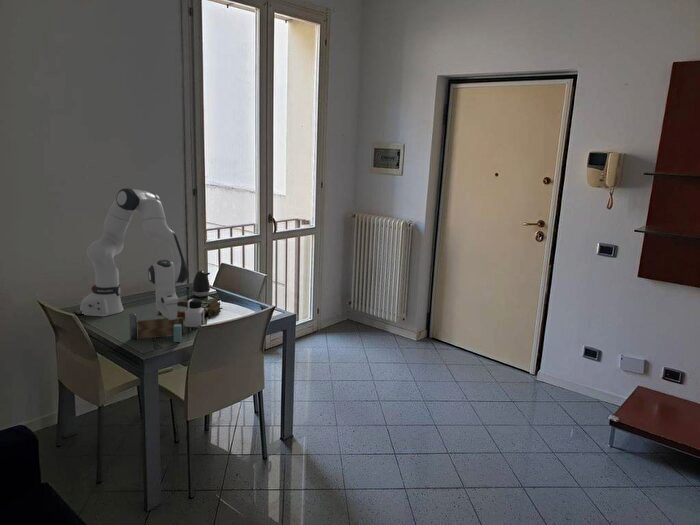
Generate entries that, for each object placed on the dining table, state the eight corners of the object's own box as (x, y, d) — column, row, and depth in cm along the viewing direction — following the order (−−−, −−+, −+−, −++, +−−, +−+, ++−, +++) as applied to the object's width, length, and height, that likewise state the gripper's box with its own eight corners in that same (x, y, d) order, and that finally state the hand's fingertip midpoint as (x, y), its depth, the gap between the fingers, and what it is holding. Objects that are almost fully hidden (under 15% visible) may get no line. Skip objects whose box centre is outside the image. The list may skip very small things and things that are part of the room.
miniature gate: (180, 296, 295) (229, 298, 289) (181, 305, 296) (230, 307, 290) (153, 310, 269) (207, 312, 263) (154, 320, 270) (208, 323, 264)
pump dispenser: (208, 298, 304) (208, 273, 300) (190, 297, 303) (189, 272, 300) (212, 293, 314) (211, 269, 310) (194, 292, 313) (194, 268, 310)
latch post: (173, 343, 237) (173, 326, 235) (175, 340, 240) (174, 324, 238) (180, 343, 237) (180, 326, 235) (181, 340, 240) (181, 324, 238)
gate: (138, 338, 238) (137, 321, 236) (137, 337, 239) (137, 320, 238) (183, 334, 246) (183, 318, 245) (183, 332, 248) (182, 317, 246)
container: (204, 322, 265) (204, 298, 262) (200, 327, 258) (200, 302, 255) (189, 321, 265) (188, 297, 262) (184, 326, 257) (184, 301, 254)
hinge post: (129, 340, 237) (128, 315, 234) (131, 338, 239) (130, 313, 237) (136, 340, 237) (135, 315, 234) (138, 338, 240) (137, 313, 237)
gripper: (151, 290, 248) (152, 317, 252) (165, 302, 233) (166, 331, 236) (165, 288, 252) (165, 315, 255) (179, 300, 236) (180, 328, 240)
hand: (166, 323), depth 245 cm, fingers closed
